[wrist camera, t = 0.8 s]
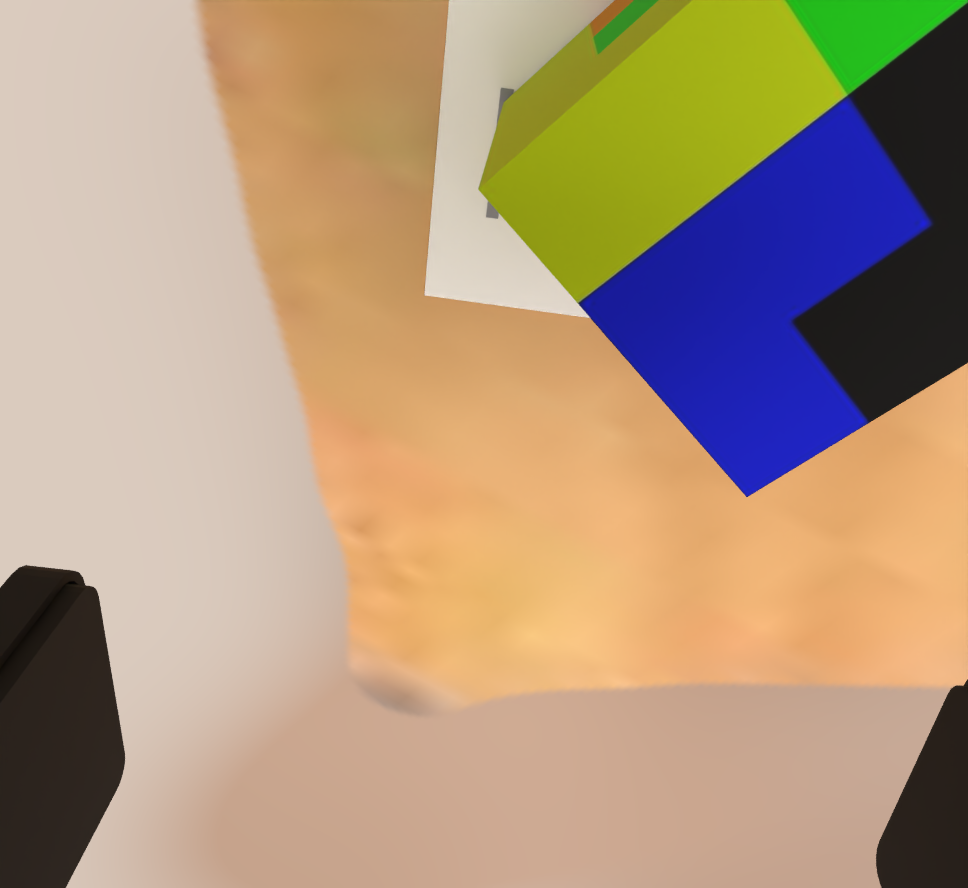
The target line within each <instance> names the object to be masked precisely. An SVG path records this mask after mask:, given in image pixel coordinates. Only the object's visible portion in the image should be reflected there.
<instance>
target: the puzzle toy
mask: <svg viewBox="0 0 968 888" xmlns="http://www.w3.org/2000/svg"><path fill="white" fill-rule="evenodd" d="M478 190H479V191H480V192H481V193H482V194H483V196H484V197H485V198H486V199H487V200H488V201H489V202H490V204H491V205H492V206H493V207H494V208H495V209H496V210H497V212H498V213H499V214H500V215H501V216H502V217H503V219H504V220H505V221H506V222H507V223H508V224H509V225H510V227H511V228H512V229H513V230H514V231H515V232H516V233H517V235H518V236H519V237H520V238H521V239H522V240H523V241H524V243H525V244H526V245H527V246H528V247H529V248H530V249H531V251H532V252H533V253H534V254H535V255H536V256H537V257H538V259H539V260H540V261H541V262H542V263H543V264H544V265H545V267H546V268H547V269H548V270H549V271H550V272H551V273H552V275H553V276H554V277H555V278H556V279H557V280H558V281H559V283H560V284H561V285H562V286H563V287H564V288H565V290H566V291H567V292H568V293H569V294H570V295H571V296H572V298H573V299H574V300H575V301H576V302H577V303H578V304H579V306H580V307H581V308H582V309H583V310H584V311H585V312H586V314H587V315H588V316H589V317H590V318H591V319H592V320H593V322H594V323H595V324H596V325H597V326H598V327H599V328H600V330H601V331H602V332H603V333H604V334H605V335H606V336H607V338H608V339H609V340H610V341H611V342H612V343H613V344H614V346H615V347H616V348H617V349H618V350H619V351H620V352H621V354H622V355H623V356H624V357H625V358H626V359H627V360H628V362H629V363H630V364H631V365H632V366H633V367H634V369H635V370H636V371H637V372H638V373H639V374H640V375H641V377H642V378H643V379H644V380H645V381H646V382H647V383H648V385H649V386H650V387H651V388H652V389H653V390H654V391H655V393H656V394H657V395H658V396H659V397H660V398H661V399H662V401H663V402H664V403H665V404H666V405H667V406H668V407H669V409H670V410H671V411H672V412H673V413H674V414H675V415H676V417H677V418H678V419H679V420H680V421H681V422H682V423H683V425H684V426H685V427H686V428H687V429H688V430H689V431H690V433H691V434H692V435H693V436H694V437H695V438H696V439H697V441H698V442H699V443H700V444H701V445H702V446H703V448H704V449H705V450H706V451H707V452H708V453H709V454H710V456H711V457H712V458H713V459H714V460H715V461H716V462H717V464H718V465H719V466H720V467H721V468H722V469H723V470H724V472H725V473H726V474H727V475H728V476H729V477H730V478H731V480H732V481H733V482H734V483H735V484H736V485H737V486H738V488H739V489H740V490H741V491H742V492H743V493H744V494H745V496H746V497H748V496H750V495H751V494H753V493H755V492H756V491H758V490H759V489H761V488H763V487H764V486H766V485H768V484H769V483H771V482H773V481H774V480H776V479H778V478H779V477H781V476H782V475H784V474H786V473H787V472H789V471H791V470H792V469H794V468H796V467H797V466H799V465H801V464H802V463H804V462H805V461H807V460H809V459H810V458H812V457H814V456H815V455H817V454H819V453H820V452H822V451H824V450H825V449H827V448H828V447H830V446H832V445H833V444H835V443H837V442H838V441H840V440H842V439H843V438H845V437H847V436H848V435H850V434H851V433H853V432H855V431H856V430H858V429H860V428H861V427H863V426H865V425H866V424H868V423H870V422H871V421H873V420H874V419H876V418H878V417H879V416H881V415H883V414H884V413H886V412H888V411H889V410H891V409H893V408H894V407H896V406H897V405H899V404H901V403H902V402H904V401H906V400H907V399H909V398H911V397H912V396H914V395H916V394H917V393H919V392H921V391H922V390H924V389H925V388H927V387H929V386H930V385H932V384H934V383H935V382H937V381H939V380H940V379H942V378H944V377H945V376H947V375H948V374H950V373H952V372H953V371H955V370H957V369H958V368H960V367H962V366H963V365H965V364H967V363H968V0H615V1H613V2H612V3H611V4H610V5H609V6H608V7H607V8H606V9H605V10H604V11H603V12H602V13H600V14H599V15H598V16H597V17H596V18H595V19H594V20H593V21H592V22H591V23H590V24H588V25H587V26H586V27H585V28H584V29H583V30H582V31H581V32H580V33H579V34H578V35H576V36H575V37H574V38H573V39H572V40H571V41H570V42H569V43H568V44H567V45H566V46H565V47H563V48H562V49H561V50H560V51H559V52H558V53H557V54H556V55H555V56H554V57H553V58H551V59H550V60H549V61H548V62H547V63H546V64H545V65H544V66H543V67H542V68H541V69H540V70H538V71H537V72H536V73H535V74H534V75H533V76H532V77H531V78H530V79H529V80H528V81H526V82H525V83H524V84H523V85H522V86H521V87H520V88H519V89H518V90H517V91H516V92H514V93H513V94H512V95H511V96H510V97H509V98H508V99H507V100H506V101H505V102H504V103H503V106H502V110H501V113H500V117H499V120H498V123H497V127H496V130H495V134H494V137H493V140H492V144H491V147H490V151H489V154H488V157H487V161H486V164H485V168H484V171H483V174H482V178H481V181H480V184H479V188H478Z"/></svg>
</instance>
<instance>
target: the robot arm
mask: <svg viewBox="0 0 968 888" xmlns="http://www.w3.org/2000/svg"><path fill="white" fill-rule="evenodd" d="M124 764H125V751H124V746H123V740H122V733H121V727H120V721H119V715H118V709H117V704H116V697H115V692H114V685H113V679H112V673H111V667H110V661H109V655H108V649H107V643H106V638H105V631H104V626H103V619H102V613H101V607H100V601H99V596H98V593H97V590H96V589H95V588H94V587H91V586H85V583H84V580H83V577H82V576H81V575H80V573H79V572H76V571H71V570H63V569H54V568H45V567H36V566H27V565H26V566H22V567H20V568H18V569H17V570H16V571H15V572H14V573H13V574H12V575H11V576H10V577H9V578H8V579H7V580H6V582H5V583H4V584H3V585H2V586H1V588H0V888H66V886H67V884H68V882H69V880H70V878H71V876H72V875H73V872H74V871H75V869H76V867H77V865H78V863H79V861H80V859H81V857H82V855H83V853H84V851H85V850H86V848H87V846H88V844H89V842H90V840H91V838H92V836H93V834H94V832H95V831H96V829H97V827H98V825H99V823H100V821H101V819H102V817H103V815H104V813H105V811H106V809H107V808H108V806H109V804H110V802H111V800H112V798H113V796H114V794H115V792H116V790H117V788H118V786H119V784H120V781H121V778H122V774H123V770H124ZM876 866H877V874H878V877H879V881H880V884H881V887H882V888H968V680H967V681H966V683H965V684H964V686H955V687H953V688H952V689H951V690H950V692H949V693H948V695H947V697H946V699H945V701H944V703H943V706H942V708H941V710H940V712H939V714H938V716H937V718H936V721H935V723H934V725H933V727H932V729H931V732H930V734H929V736H928V738H927V740H926V742H925V744H924V747H923V749H922V751H921V753H920V755H919V757H918V759H917V761H916V764H915V766H914V768H913V770H912V772H911V775H910V777H909V779H908V781H907V783H906V785H905V787H904V789H903V792H902V794H901V796H900V798H899V800H898V803H897V805H896V807H895V809H894V811H893V813H892V816H891V817H890V820H889V822H888V824H887V826H886V828H885V830H884V833H883V835H882V837H881V839H880V841H879V844H878V848H877V854H876Z"/></svg>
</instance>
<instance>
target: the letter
mask: <svg viewBox="0 0 968 888" xmlns="http://www.w3.org/2000/svg"><path fill="white" fill-rule="evenodd" d="M613 1H615V0H449V8H448V20H447V32H446V44H445V56H444V68H443V80H442V92H441V103H440V115H439V127H438V139H437V151H436V163H435V175H434V187H433V199H432V211H431V223H430V235H429V246H428V258H427V270H426V282H425V294H424V295H426V296H433V297H441V298H448V299H455V300H462V301H470V302H477V303H484V304H492V305H499V306H506V307H513V308H521V309H528V310H535V311H543V312H550V313H557V314H565V315H572V316H579V317H586V318H590V317H589V316H588V315H587V314H586V312H585V311H584V310H583V309H582V308H581V307H580V306H579V304H578V303H577V302H576V301H575V300H574V299H573V298H572V296H571V295H570V294H569V293H568V292H567V291H566V290H565V288H564V287H563V286H562V285H561V284H560V283H559V281H558V280H557V279H556V278H555V277H554V276H553V275H552V273H551V272H550V271H549V270H548V269H547V268H546V267H545V265H544V264H543V263H542V262H541V261H540V260H539V259H538V257H537V256H536V255H535V254H534V253H533V252H532V251H531V249H530V248H529V247H528V246H527V245H526V244H525V243H524V241H523V240H522V239H521V238H520V237H519V236H518V235H517V233H516V232H515V231H514V230H513V229H512V228H511V227H510V225H509V224H508V223H507V222H506V221H505V220H504V219H503V217H502V216H501V215H500V214H499V213H498V212H497V210H496V209H495V208H494V207H493V206H492V205H491V204H490V202H489V201H488V200H487V199H486V198H485V197H484V196H483V194H482V193H481V192H480V191H479V190H478V188H479V184H480V181H481V178H482V174H483V171H484V168H485V164H486V161H487V157H488V154H489V151H490V147H491V144H492V140H493V137H494V134H495V130H496V127H497V123H498V120H499V117H500V113H501V110H502V106H503V103H504V102H505V101H506V100H507V99H508V98H509V97H510V96H511V95H512V94H513V93H514V92H516V91H517V90H518V89H519V88H520V87H521V86H522V85H523V84H524V83H525V82H526V81H528V80H529V79H530V78H531V77H532V76H533V75H534V74H535V73H536V72H537V71H538V70H540V69H541V68H542V67H543V66H544V65H545V64H546V63H547V62H548V61H549V60H550V59H551V58H553V57H554V56H555V55H556V54H557V53H558V52H559V51H560V50H561V49H562V48H563V47H565V46H566V45H567V44H568V43H569V42H570V41H571V40H572V39H573V38H574V37H575V36H576V35H578V34H579V33H580V32H581V31H582V30H583V29H584V28H585V27H586V26H587V25H588V24H590V23H591V22H592V21H593V20H594V19H595V18H596V17H597V16H598V15H599V14H600V13H602V12H603V11H604V10H605V9H606V8H607V7H608V6H609V5H610V4H611V3H612V2H613Z"/></svg>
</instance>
